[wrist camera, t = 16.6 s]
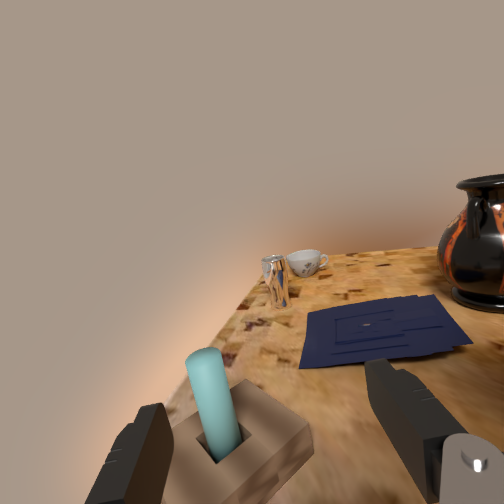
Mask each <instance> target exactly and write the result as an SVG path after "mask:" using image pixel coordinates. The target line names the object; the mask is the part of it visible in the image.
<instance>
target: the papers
mask: <svg viewBox="0 0 504 504" xmlns="http://www.w3.org/2000/svg"><path fill="white" fill-rule="evenodd" d="M467 344H474V343H473V342H472V341H471V340H470V338H469V337H468V336H467V335H466V334H465V332H464V331H463V330H462V329H461V328H460V327H459V325H458V324H457V323H456V322H455V321H454V319H453V318H452V317H451V316H450V315H449V313H448V312H447V311H446V309H445V308H444V307H443V306H442V304H441V303H440V302H439V300H438V299H437V298H436V296H435V295H434V294H433V295H427V296H421V297H418V296H417V295H412V296H405V297H401V296H400V297H394V298H388V299H387V298H384V299H378V300H372V301H366V302H360V303H355V304H349V305H343V306H337V307H331V308H328V309H323V310H319V311H314V312H309V313H308V317H307V331H306V338H305V343H304V347H303V352H302V356H301V360H300V365H299V369H301V368H314V367H315V368H316V367H324V366H332V365H337V364H346V363H355V362H364V361H371V360H376V359H381V358H385V359H391V358H401V357H415V356H423V355H431V354H432V353H435V352H444V351H452V350H454V349H453V348H452V347H451V346H459V345H467Z"/></svg>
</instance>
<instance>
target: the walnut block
mask: <svg viewBox="0 0 504 504" xmlns="http://www.w3.org/2000/svg"><path fill="white" fill-rule="evenodd" d="M230 393H231V397H232V402H233V406H234V410H235V414H236V418H237V422H238V426H239V430H240V435H241V439H242V444H241V445H240V446H238V447H237V448H236V449H235V450H234V451H232V452H231V453H230V454H229V455H227V456H226V457H225V458H224V459H223V460H221V461H220V462H219V463H218V464H217V465H216V464H215V463H214V461H213V460H212V459H211V455H210V451H209V448H208V444H207V440H206V437H205V433H204V429H203V426H202V422H201V419H200V415H199V411H197V412H196V413H194V414H193V415H191V416H190V417H188V418H187V419H185V420H184V421H182V422H181V423H179V424H178V425H176V426H175V427H173V428H172V432H173V437H174V452H173V456H172V460H171V464H170V468H169V472H168V476H167V480H166V484H165V488H164V493H163V497H162V501H161V503H162V504H265V503H266V502H267V501H268V500H269V499H270V498H271V497H272V496H273V495H274V494H275V493H276V492H277V491H278V490H279V489H280V488H281V487H282V486H283V485H284V484H285V483H286V482H287V481H288V480H289V479H290V478H291V477H292V476H293V475H294V474H295V472H296V471H297V470H298V469H299V468H300V467H301V466H302V465H303V464H304V463H305V462H306V461H307V460H308V459H309V458H310V457H311V456H312V455H313V454H314V451H313V445H312V439H311V434H310V428H309V423H308V422H307V421H305V420H304V419H302V418H301V417H300V416H298V415H297V414H295V413H294V412H292V411H291V410H290V409H288V408H287V407H285V406H284V405H283V404H281V403H280V402H278V401H277V400H275V399H274V398H273V397H271V396H270V395H268V394H267V393H265V392H264V391H263V390H261V389H260V388H258V387H257V386H255V385H254V384H253V383H251V382H250V381H248V380H247V379H245V380H243V381H242V382H240V383H239V384H237V385H236V386H234V387H233V388H231V389H230Z"/></svg>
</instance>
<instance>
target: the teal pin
mask: <svg viewBox="0 0 504 504" xmlns="http://www.w3.org/2000/svg"><path fill="white" fill-rule="evenodd" d="M185 364H186V368H187V371H188V375H189V379H190V382H191V386H192V390H193V393H194V397H195V400H196V404H197V408H198V411H199V415H200V419H201V422H202V426H203V429H204V433H205V437H206V440H207V444H208V448H209V451H210V455H211V459H212V460H213V461H214V463H215V464H216V465H217V464H218V463H219V462H220V461H221V460H223V459H224V458H225V457H226V456H227V455H229V454H230V453H231V452H232V451H234V450H235V449H236V448H237V447H238V446H240V445H241V444H242V439H241V435H240V430H239V426H238V422H237V418H236V414H235V410H234V406H233V402H232V397H231V393H230V389H229V385H228V381H227V377H226V373H225V369H224V364H223V360H222V356H221V352H220V350H219V349H217V348H213V347H208V348H203V349H200V350H197V351H195V352H194V353H192V354H191V355H190V356H188V358H187V359H186V361H185Z"/></svg>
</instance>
